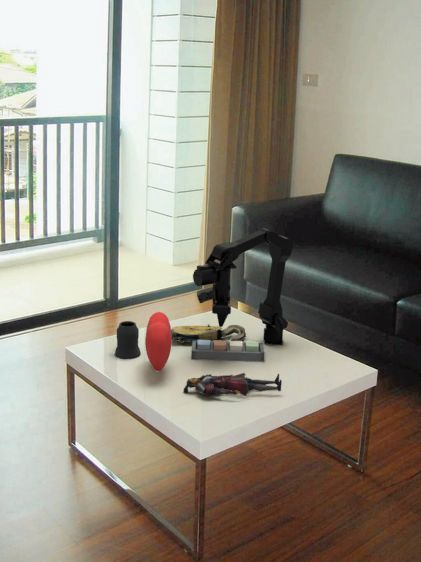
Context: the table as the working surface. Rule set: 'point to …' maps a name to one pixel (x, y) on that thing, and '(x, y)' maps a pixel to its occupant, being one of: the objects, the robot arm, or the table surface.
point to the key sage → (252, 346)
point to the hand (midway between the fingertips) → (220, 324)
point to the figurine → (230, 384)
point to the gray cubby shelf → (227, 353)
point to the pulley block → (206, 333)
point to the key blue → (203, 345)
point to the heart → (158, 340)
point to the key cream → (236, 346)
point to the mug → (127, 341)
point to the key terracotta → (219, 345)
